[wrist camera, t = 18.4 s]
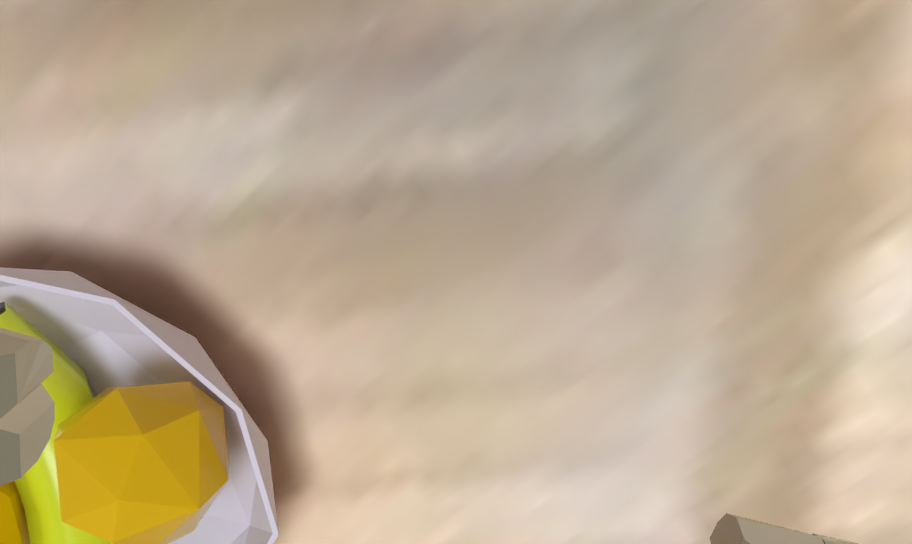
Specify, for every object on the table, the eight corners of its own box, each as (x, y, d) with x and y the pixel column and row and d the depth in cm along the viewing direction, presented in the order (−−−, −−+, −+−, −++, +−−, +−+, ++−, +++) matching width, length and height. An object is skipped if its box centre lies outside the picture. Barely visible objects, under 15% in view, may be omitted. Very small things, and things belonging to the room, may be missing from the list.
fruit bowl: (-125, 192, 42) (-345, 269, 32) (330, 289, 41) (255, 401, 31) (-65, 548, 54) (-212, 690, 43) (291, 631, 53) (228, 796, 42)
